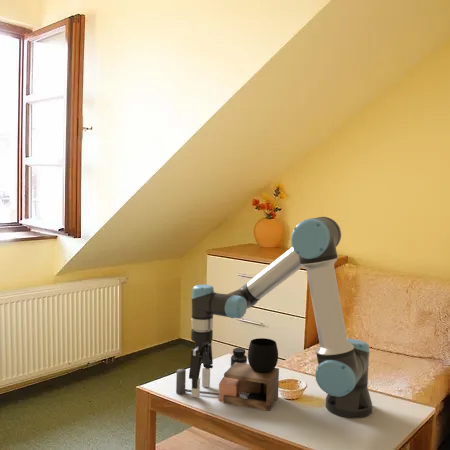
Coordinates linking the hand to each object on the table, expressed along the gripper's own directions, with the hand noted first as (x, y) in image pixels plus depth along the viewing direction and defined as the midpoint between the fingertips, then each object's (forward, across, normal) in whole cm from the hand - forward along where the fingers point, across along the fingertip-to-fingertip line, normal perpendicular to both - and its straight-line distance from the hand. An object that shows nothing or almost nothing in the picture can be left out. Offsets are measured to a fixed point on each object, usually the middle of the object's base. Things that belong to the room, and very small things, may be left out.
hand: (200, 391), depth 185 cm
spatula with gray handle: (0, +2, +3) cm, 4 cm away
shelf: (0, 0, +19) cm, 19 cm away
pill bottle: (0, -18, +8) cm, 19 cm away
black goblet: (+1, -3, +22) cm, 22 cm away
